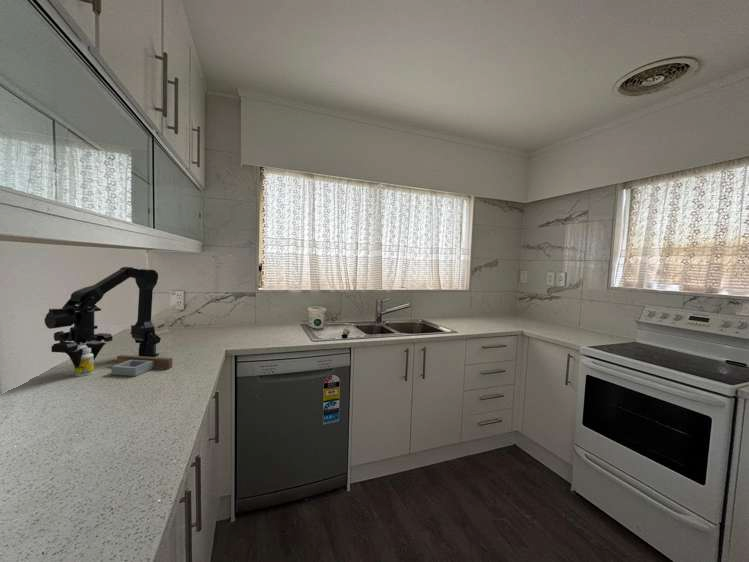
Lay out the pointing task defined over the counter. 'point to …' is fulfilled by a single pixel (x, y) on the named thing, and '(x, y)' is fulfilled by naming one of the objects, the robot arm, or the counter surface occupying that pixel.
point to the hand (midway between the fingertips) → (84, 364)
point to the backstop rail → (158, 361)
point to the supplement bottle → (85, 363)
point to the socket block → (132, 367)
